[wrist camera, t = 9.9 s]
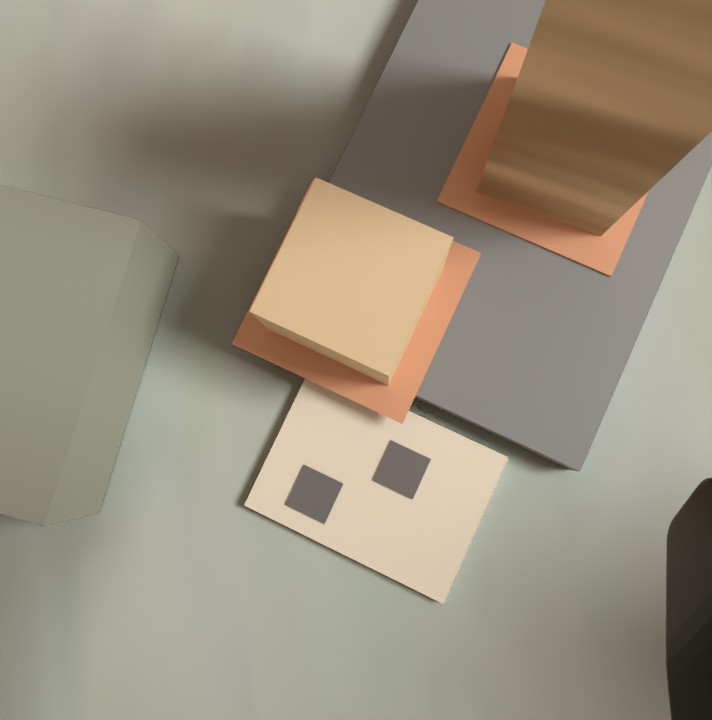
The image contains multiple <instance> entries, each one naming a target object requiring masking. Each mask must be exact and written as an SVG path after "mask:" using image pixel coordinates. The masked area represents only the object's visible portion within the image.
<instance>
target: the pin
mask: <svg viewBox="0 0 712 720" xmlns="http://www.w3.org/2000/svg"><path fill="white" fill-rule="evenodd" d="M711 131H712V0H546V1H545V3H544V6H543V9H542V12H541V14H540V17H539V20H538V23H537V25H536V28H535V31H534V34H533V36H532V39H531V42H530V45H529V47H528V50H527V53H526V56H525V58H524V61H523V64H522V67H521V69H520V72H519V75H518V78H517V80H516V83H515V86H514V89H513V91H512V94H511V97H510V100H509V102H508V105H507V108H506V111H505V113H504V116H503V119H502V122H501V124H500V127H499V130H498V133H497V135H496V138H495V141H494V143H493V146H492V149H491V152H490V154H489V157H488V160H487V163H486V165H485V168H484V171H483V174H482V176H481V179H480V182H479V185H478V187H477V190H476V193H479V194H482V195H485V196H488V197H490V198H493V199H496V200H499V201H502V202H505V203H508V204H510V205H513V206H516V207H519V208H522V209H525V210H528V211H531V212H533V213H536V214H539V215H542V216H545V217H548V218H551V219H554V220H556V221H559V222H562V223H565V224H568V225H571V226H574V227H576V228H579V229H582V230H585V231H588V232H591V233H594V234H597V235H599V236H602V235H603V234H604V233H605V232H606V231H607V230H608V229H609V228H610V227H611V226H612V225H613V224H614V223H615V222H617V221H618V220H619V219H620V218H621V217H622V216H623V215H624V214H625V213H626V212H627V211H628V210H629V209H630V208H631V207H632V206H633V205H634V204H635V203H637V202H638V201H639V200H640V199H641V198H642V197H643V196H644V195H645V194H646V193H647V192H648V191H649V190H650V189H651V188H652V187H653V186H654V185H656V184H657V183H658V182H659V181H660V180H661V179H662V178H663V177H664V176H665V175H666V174H667V173H668V172H669V171H670V170H671V169H672V168H673V167H675V166H676V165H677V164H678V163H679V162H680V161H681V160H682V159H683V158H684V157H685V156H686V155H687V154H688V153H689V152H690V151H691V150H692V149H694V148H695V147H696V146H697V145H698V144H699V143H700V142H701V141H702V140H703V139H704V138H705V137H706V136H707V135H708V134H709V133H710V132H711Z"/></svg>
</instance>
